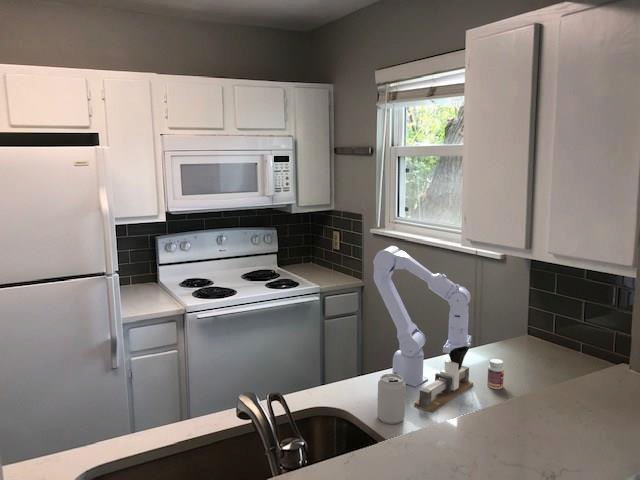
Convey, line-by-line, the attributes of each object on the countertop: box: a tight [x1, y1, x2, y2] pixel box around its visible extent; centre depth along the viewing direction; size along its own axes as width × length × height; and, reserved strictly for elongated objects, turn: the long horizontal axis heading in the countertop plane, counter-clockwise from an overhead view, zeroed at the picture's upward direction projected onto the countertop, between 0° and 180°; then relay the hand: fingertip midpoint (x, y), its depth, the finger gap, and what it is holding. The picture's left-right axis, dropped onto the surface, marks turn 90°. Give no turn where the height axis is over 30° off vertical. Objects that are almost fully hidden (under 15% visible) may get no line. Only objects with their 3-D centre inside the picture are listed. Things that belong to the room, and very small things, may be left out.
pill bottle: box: [486, 358, 505, 390], centre depth 167 cm, size 5×5×8 cm
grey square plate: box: [434, 373, 451, 394], centre depth 159 cm, size 5×1×5 cm, turn 48°
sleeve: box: [439, 359, 459, 391], centre depth 162 cm, size 5×3×8 cm, turn 48°
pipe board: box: [413, 365, 474, 413], centre depth 161 cm, size 6×25×5 cm, turn 138°
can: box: [376, 373, 407, 425], centre depth 145 cm, size 8×8×12 cm
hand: (456, 369), depth 165 cm, fingers closed
